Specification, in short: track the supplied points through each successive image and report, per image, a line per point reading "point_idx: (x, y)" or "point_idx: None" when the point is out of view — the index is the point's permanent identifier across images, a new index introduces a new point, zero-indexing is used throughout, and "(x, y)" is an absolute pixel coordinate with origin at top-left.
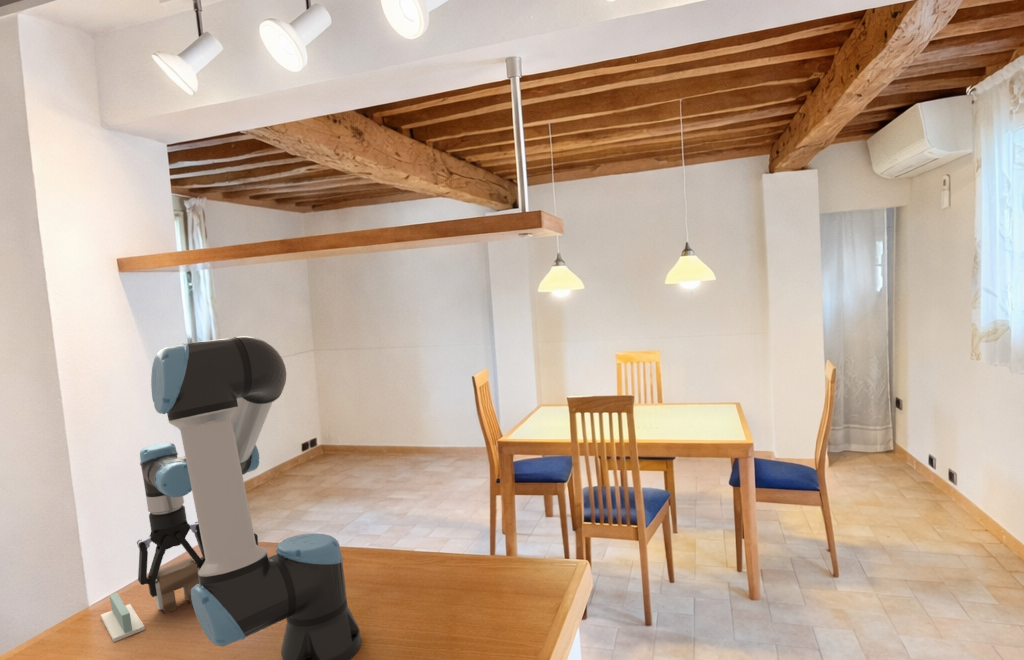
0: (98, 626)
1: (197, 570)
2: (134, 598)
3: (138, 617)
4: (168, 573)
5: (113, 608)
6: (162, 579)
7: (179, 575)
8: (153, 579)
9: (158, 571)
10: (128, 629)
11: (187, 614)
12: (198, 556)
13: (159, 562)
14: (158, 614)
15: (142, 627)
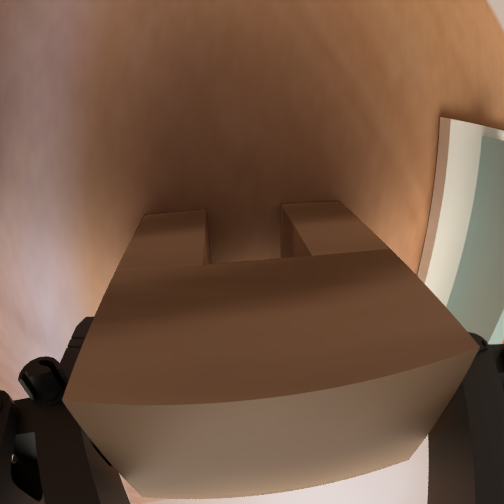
0: None
1: None
2: None
3: (436, 235)
4: (406, 372)
5: None
6: (442, 326)
7: (275, 338)
8: (474, 359)
9: (467, 416)
10: (496, 139)
11: (251, 79)
12: (41, 471)
13: (491, 495)
14: (361, 220)
15: (455, 120)
